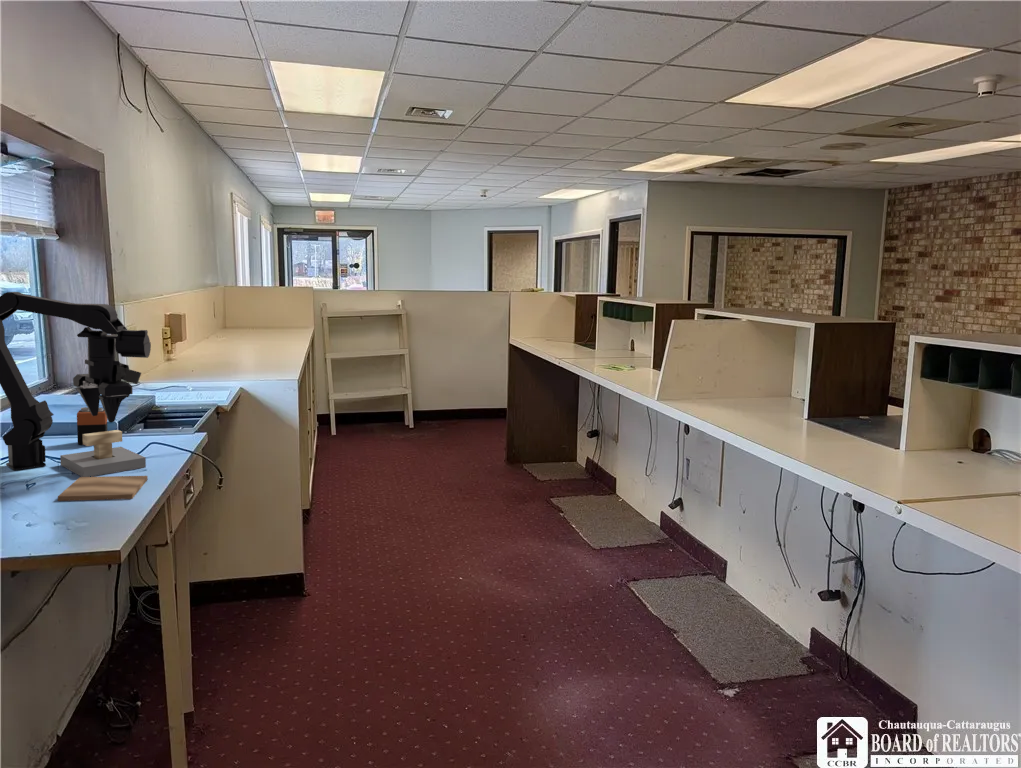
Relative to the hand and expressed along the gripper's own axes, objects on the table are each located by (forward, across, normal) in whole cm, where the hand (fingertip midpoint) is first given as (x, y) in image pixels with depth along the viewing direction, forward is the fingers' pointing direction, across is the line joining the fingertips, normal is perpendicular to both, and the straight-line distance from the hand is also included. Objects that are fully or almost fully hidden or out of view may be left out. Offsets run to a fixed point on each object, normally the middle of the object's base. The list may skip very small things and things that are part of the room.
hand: (103, 418), depth 165 cm
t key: (+12, 0, 0) cm, 12 cm away
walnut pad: (+12, -19, +8) cm, 24 cm away
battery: (+12, +24, -7) cm, 28 cm away
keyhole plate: (+12, 0, 0) cm, 12 cm away
